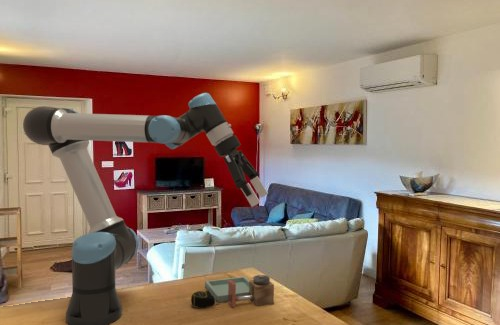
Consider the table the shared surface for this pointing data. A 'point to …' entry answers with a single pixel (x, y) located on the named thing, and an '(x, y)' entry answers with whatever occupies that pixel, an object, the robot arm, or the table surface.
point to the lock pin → (232, 294)
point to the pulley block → (261, 290)
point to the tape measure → (202, 299)
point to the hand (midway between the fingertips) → (260, 200)
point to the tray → (221, 288)
